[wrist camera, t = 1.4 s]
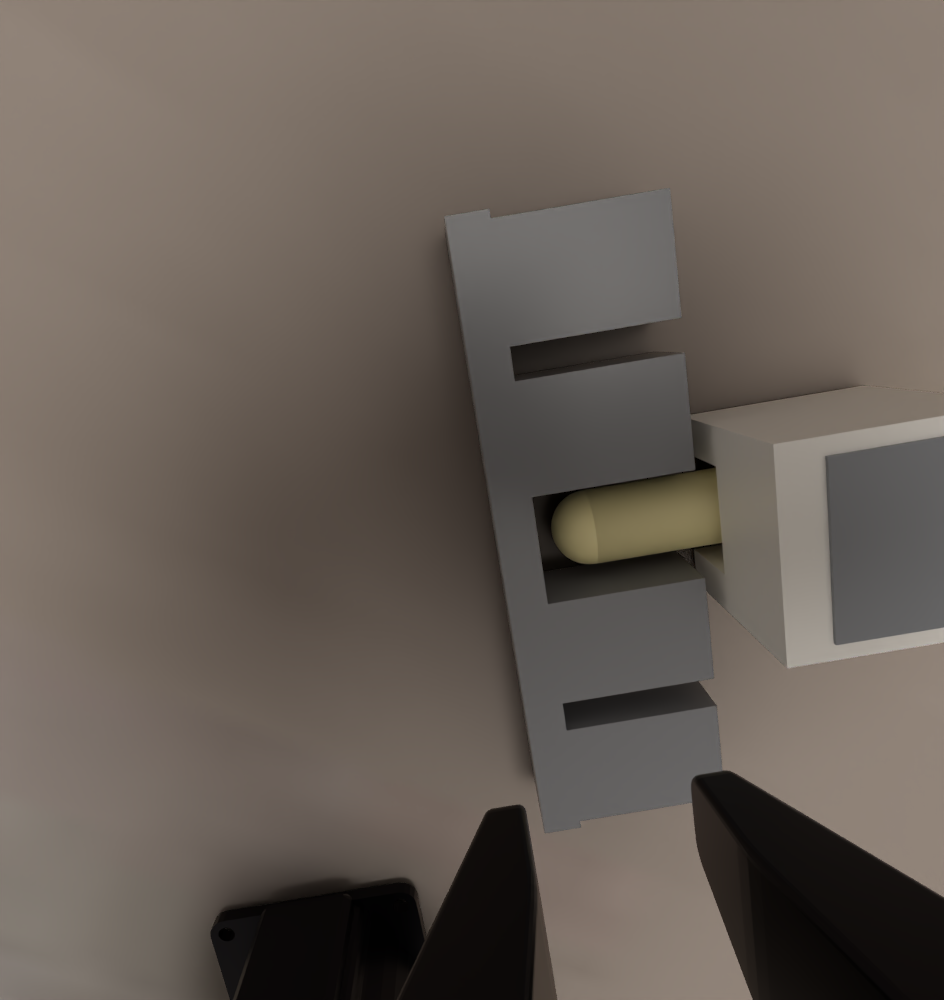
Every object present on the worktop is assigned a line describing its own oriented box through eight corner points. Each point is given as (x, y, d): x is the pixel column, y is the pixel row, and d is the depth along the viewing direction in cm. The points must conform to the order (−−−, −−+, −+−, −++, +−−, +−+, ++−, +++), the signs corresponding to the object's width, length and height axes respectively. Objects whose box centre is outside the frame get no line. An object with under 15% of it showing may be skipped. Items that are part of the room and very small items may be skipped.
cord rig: (534, 778, 21) (547, 849, 18) (445, 234, 17) (444, 210, 14) (1277, 655, 21) (1414, 706, 18) (1346, 80, 17) (1532, 25, 14)
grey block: (696, 581, 19) (789, 670, 14) (681, 416, 18) (776, 444, 13) (869, 553, 19) (1027, 631, 14) (864, 385, 18) (1033, 401, 13)
